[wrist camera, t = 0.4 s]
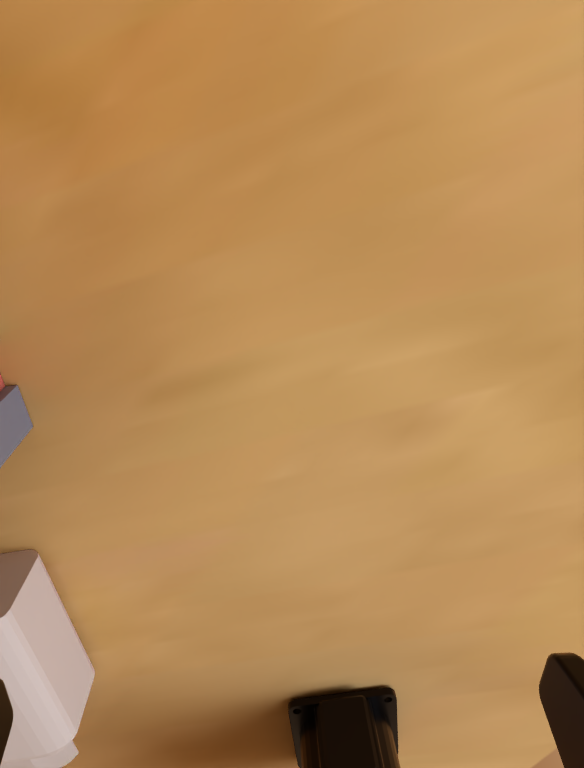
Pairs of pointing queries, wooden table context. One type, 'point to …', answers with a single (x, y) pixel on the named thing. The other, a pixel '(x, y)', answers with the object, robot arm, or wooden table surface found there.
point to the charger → (39, 666)
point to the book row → (12, 420)
